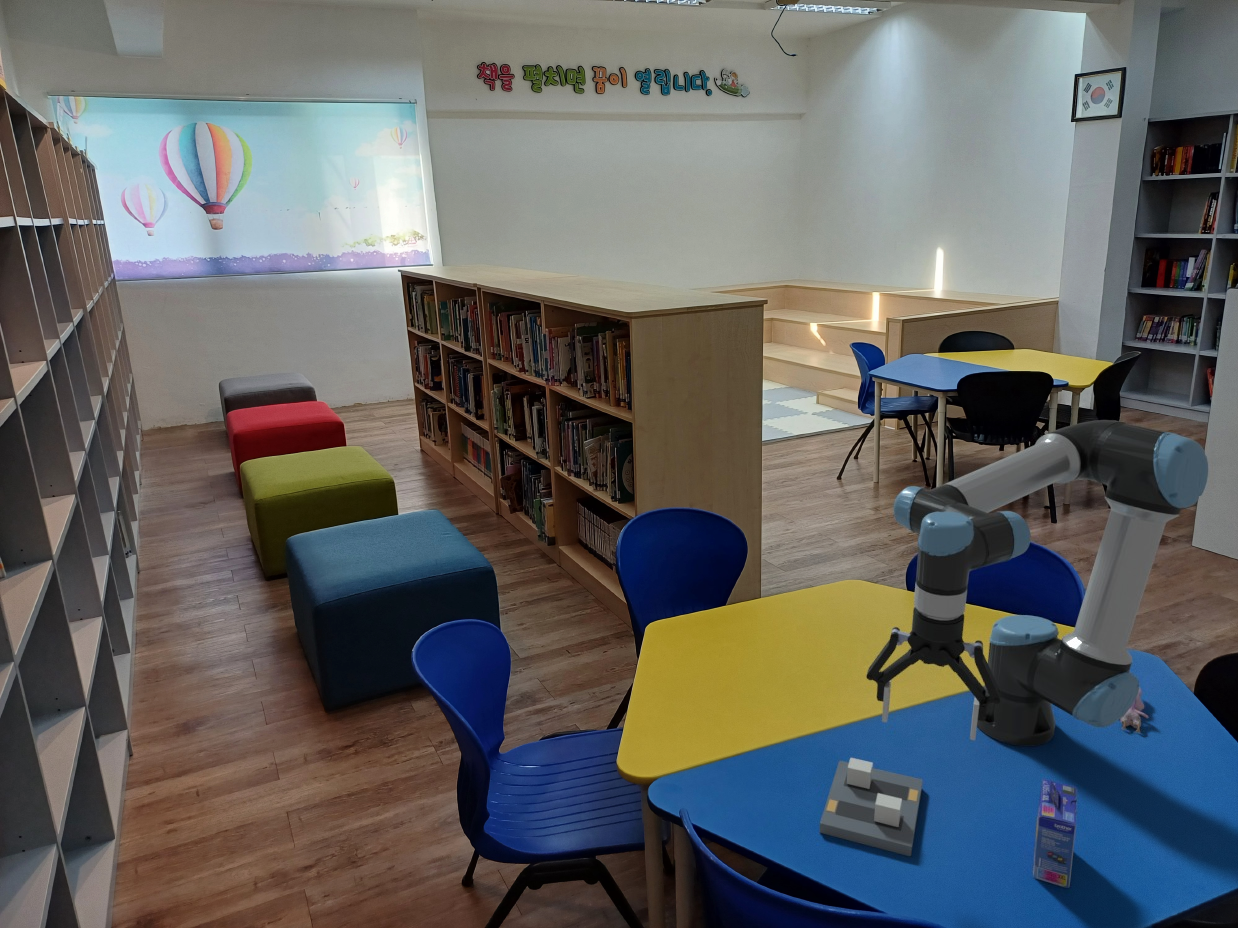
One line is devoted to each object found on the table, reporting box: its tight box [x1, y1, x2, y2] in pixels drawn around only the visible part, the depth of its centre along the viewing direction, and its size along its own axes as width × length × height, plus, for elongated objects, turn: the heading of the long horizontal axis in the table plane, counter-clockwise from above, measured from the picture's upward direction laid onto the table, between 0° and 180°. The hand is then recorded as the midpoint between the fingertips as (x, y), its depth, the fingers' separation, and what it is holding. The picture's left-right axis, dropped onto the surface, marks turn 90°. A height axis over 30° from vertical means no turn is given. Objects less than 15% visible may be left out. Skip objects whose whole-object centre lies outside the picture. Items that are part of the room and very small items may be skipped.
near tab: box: [874, 793, 902, 827], centre depth 146 cm, size 4×3×4 cm
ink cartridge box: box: [1032, 778, 1078, 889], centre depth 137 cm, size 10×6×14 cm, turn 153°
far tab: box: [847, 757, 874, 789], centre depth 156 cm, size 4×3×4 cm
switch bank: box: [819, 760, 924, 857], centre depth 152 cm, size 15×18×2 cm
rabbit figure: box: [1120, 686, 1149, 733], centre depth 176 cm, size 6×6×15 cm
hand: (928, 726), depth 140 cm, fingers open, 13 cm apart
